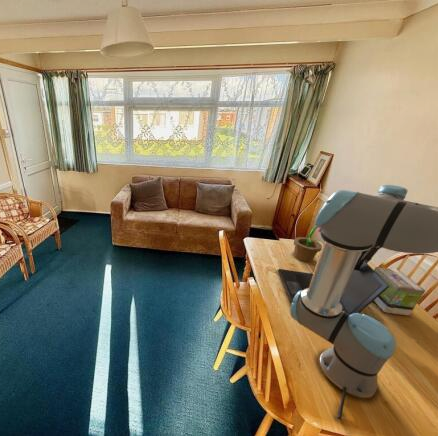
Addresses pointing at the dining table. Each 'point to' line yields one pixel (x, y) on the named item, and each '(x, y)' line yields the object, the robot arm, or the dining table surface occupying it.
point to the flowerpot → (306, 247)
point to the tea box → (398, 292)
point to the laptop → (295, 282)
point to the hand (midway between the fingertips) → (354, 269)
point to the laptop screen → (362, 289)
